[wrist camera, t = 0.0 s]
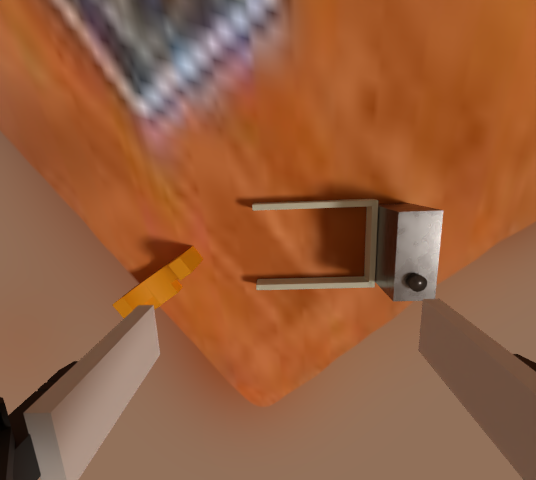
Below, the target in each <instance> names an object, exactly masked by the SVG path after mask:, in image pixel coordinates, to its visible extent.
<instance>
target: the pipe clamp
mask: <svg viewBox="0 0 536 480" xmlns="http://www.w3.org/2000/svg"><path fill="white" fill-rule="evenodd" d="M202 260H203V258H202V257H201V255H200V254H199V253H198V251H197V250H196V249H195V248H194V246H192V247H191V248H189V249H188V250H186V251H185V252H184V253H182V254H181V255H179V256H178V257H177V258H175V259H174V260H172V261H171V262H169V263H168V264H167V265H165V266H164V267H162V268H161V269H160V270H158V271H157V272H155V273H154V274H153V275H151V276H150V277H148V278H147V279H146V280H144V281H143V282H141V283H140V284H138V285H137V286H136V287H134V288H133V289H132V290H131V291H129V292H128V293H127V294H125V295H124V296H123V297H122V298H120V299H119V300H118V301H116V302H115V303H114V304H113V306H114V308H115V309H116V310H117V311H118V312H119V313H120V314H121V316H122V317H123V318H125V317H126V316H127V315H129V314H130V313H131V312H132V311H133V310H134V309H135V308H136V307H137V306H138V305H154V310H155V309H156V308H158V307H159V306H161V305H162V304H163V303H164V302H166V301H167V300H168V299H170V298H171V297H172V296H174V295H175V294H177V293H178V292H179V291H180V290H181V289H182V285H181V284H180V283H179V282H178V280H177V279H180V280H182V279H183V278H184V277H186V276H187V275H189V274H190V273H192V272H193V270H194V269H195V268H196V267H197V266H198V265H199V264H200V262H201V261H202Z"/></svg>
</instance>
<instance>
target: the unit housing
mask: <svg viewBox="0 0 536 480" xmlns="http://www.w3.org/2000/svg"><path fill="white" fill-rule="evenodd" d="M442 219H443V210H439V209H434V208H429V207H425V206H420V205H415V204H410V203H395V204H378V221H377V243H376V266H375V282H376V283H377V284H378V285H379V286H380V288H381V289H382V290H383V291H384V292H385V293H386V294H387V295H388V296H389V297H390V298H391V299H392V300H393V301H423V299H435V293H436V282H437V272H438V261H439V251H440V240H441V230H442Z"/></svg>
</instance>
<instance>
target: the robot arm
mask: <svg viewBox="0 0 536 480" xmlns="http://www.w3.org/2000/svg"><path fill="white" fill-rule="evenodd" d="M154 313H155V312H154V305H138V306H137V307H136V308H135V309H134V310H133V311H132V312H131V313H130V314H129V315H127V316H126V317H125V318H124V319H123V320H122V321H121V322H120V323H119V324H118V325H117V326H116V327H115V328H114V329H112V331H110V332H109V333H108V334H107V335H106V336H105V337H104V338H103V339H102V340H101V341H100V342H99V343H98V344H96V345H95V346H94V347H93V348H92V349H91V350H90V351H89V352H88V353H87V354H86V355H85V356H84V357H83V358H81V360H79V361H74V362H72V363H71V364H69V365H67V366H66V367H64V368H62V369H60V370H59V371H58V372H57V373H56V374H54V375H53V376H52V377H51V378H50V379H49V380H48V382H47V383H44V384H43V385H42V386H41V387H40V388H39V389H38V391H35V392H34V393H33V394H32V395H31V396H30V397H29V398H27V400H25V401H24V402H23V403H22V404H21V405H20V406H19V407H17V408H16V409H15V410H14V411H13V412H12V413H11V414H10V415H8V414H7V410H6V406H5V403H4V400H3V398H1V397H0V480H37V479H38V478H39V477H40V478H41V480H78V479H79V478H80V476H81V474H82V473H83V472H84V470H85V468H86V467H87V465H88V464H89V462H90V461H91V459H92V458H93V456H94V455H95V453H96V452H97V450H98V449H99V447H100V446H101V444H102V442H103V441H104V439H105V438H106V436H107V435H108V433H109V432H110V430H111V429H112V427H113V426H114V424H115V423H116V421H117V420H118V418H119V416H120V415H121V413H122V412H123V410H124V409H125V407H126V406H127V404H128V403H129V401H130V399H131V398H132V397H133V395H134V394H135V392H136V390H137V389H138V387H139V386H140V384H141V383H142V381H143V380H144V378H145V376H146V375H147V374H148V372H149V371H150V369H151V368H152V366H153V364H154V363H155V361H156V360H157V358H158V357H159V355H160V350H159V342H158V335H157V327H156V320H155V314H154ZM419 352H420V353H421V354H422V355H423V356H424V358H425V359H426V360H427V361H428V363H429V364H430V365H431V366H432V367H433V369H434V370H435V371H436V372H437V374H438V375H439V376H440V377H441V379H442V380H443V381H444V382H445V384H446V385H447V386H448V387H449V389H450V390H451V391H452V392H453V393H454V395H455V396H456V397H457V398H458V400H459V401H460V402H461V403H462V405H463V406H464V407H465V408H466V409H467V411H468V412H469V413H470V414H471V416H472V417H473V418H474V419H475V421H476V422H477V423H478V424H479V425H480V427H481V428H482V429H483V430H484V432H485V433H486V434H487V435H488V436H489V438H490V439H491V440H492V441H493V443H494V444H495V445H496V446H497V448H498V449H499V450H500V451H501V453H502V454H503V455H504V456H505V457H506V459H507V460H508V461H509V462H510V464H511V465H512V466H513V467H514V469H515V470H516V471H517V472H518V473H519V475H520V476H521V477H522V478H523V480H536V363H535V362H532V361H530V360H528V359H526V358H524V357H522V356H520V355H518V354H511V353H510V352H509V351H508V350H506V349H505V348H504V347H502V346H501V345H500V344H498V343H497V342H496V341H494V340H493V339H492V338H491V337H489V336H488V335H486V334H485V333H484V332H483V331H481V330H480V329H479V328H477V327H476V326H474V325H473V324H472V323H471V322H469V321H468V320H467V319H465V318H464V317H463V316H461V315H460V314H459V313H457V312H456V311H454V310H453V309H452V308H450V306H448V305H447V304H446V303H444V302H443V301H441V300H440V299H423V305H422V316H421V328H420V340H419Z"/></svg>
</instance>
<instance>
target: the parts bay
mask: <svg viewBox="0 0 536 480" xmlns="http://www.w3.org/2000/svg"><path fill="white" fill-rule="evenodd" d="M366 206H367V209H366V236H365V264H364V276H357V277H319V278H280V279H257V284H256V288H257V290H283V289H324V288H365V287H375V266H376V243H377V221H378V200H376V199H351V200H323V201H295V202H267V203H253V204H252V208H253V210H280V209H308V208H337V207H366Z"/></svg>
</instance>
